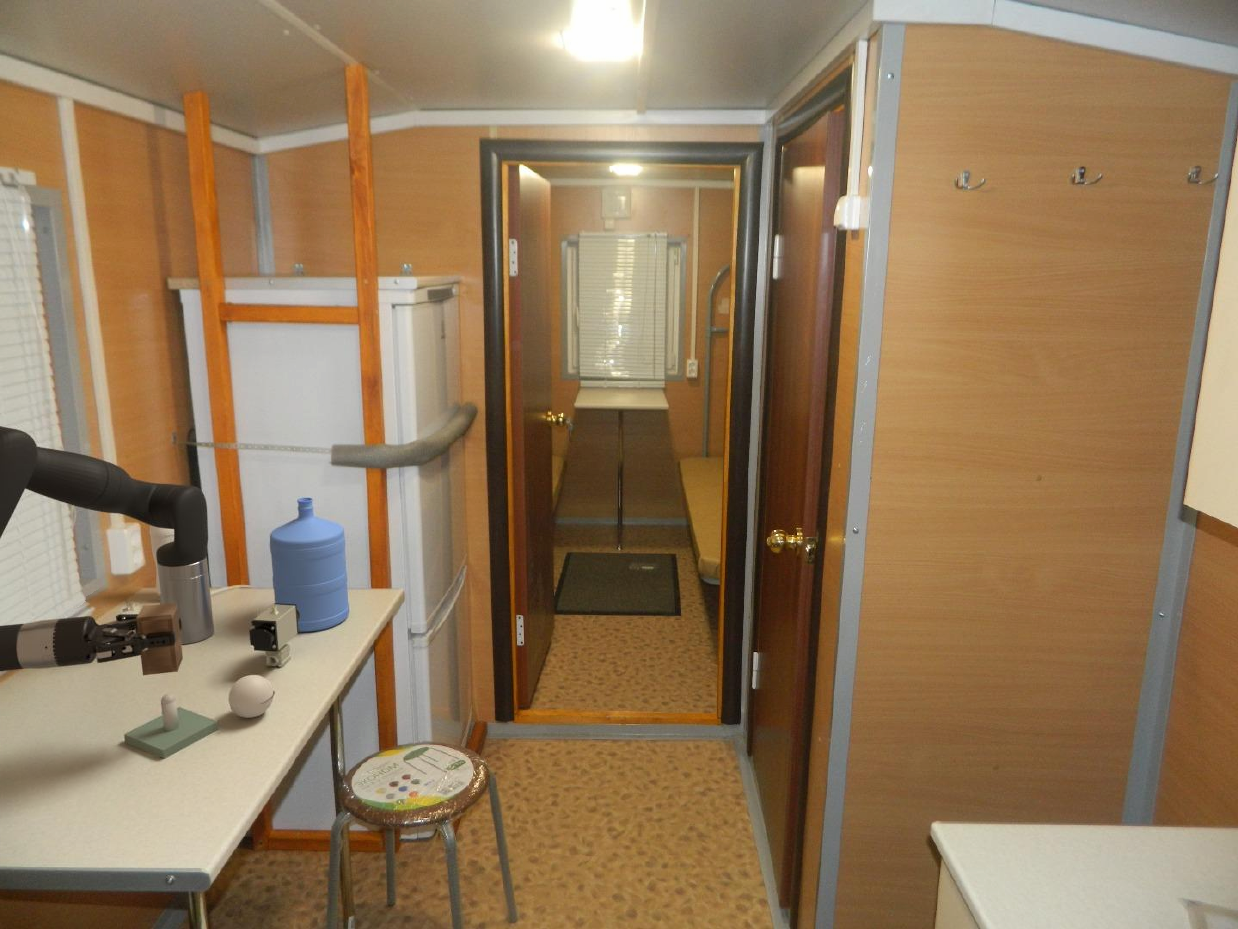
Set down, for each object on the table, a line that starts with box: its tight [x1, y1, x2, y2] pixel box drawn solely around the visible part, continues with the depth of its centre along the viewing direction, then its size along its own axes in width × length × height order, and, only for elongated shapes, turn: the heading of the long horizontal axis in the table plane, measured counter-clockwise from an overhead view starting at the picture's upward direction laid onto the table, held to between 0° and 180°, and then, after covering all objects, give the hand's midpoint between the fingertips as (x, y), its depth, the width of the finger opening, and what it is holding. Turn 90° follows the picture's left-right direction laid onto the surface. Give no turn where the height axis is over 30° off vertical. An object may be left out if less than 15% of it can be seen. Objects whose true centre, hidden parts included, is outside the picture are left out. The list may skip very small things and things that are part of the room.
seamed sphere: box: [227, 674, 275, 719], centre depth 147 cm, size 10×7×7 cm
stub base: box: [123, 693, 219, 759], centre depth 139 cm, size 10×10×8 cm
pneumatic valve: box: [249, 602, 300, 668], centre depth 164 cm, size 6×12×12 cm, turn 174°
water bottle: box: [148, 525, 174, 596], centre depth 194 cm, size 7×7×25 cm
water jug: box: [269, 497, 350, 633], centre depth 183 cm, size 16×16×28 cm
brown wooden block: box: [136, 603, 184, 676], centre depth 135 cm, size 5×5×10 cm
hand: (177, 631), depth 136 cm, fingers closed on brown wooden block, 5 cm apart
